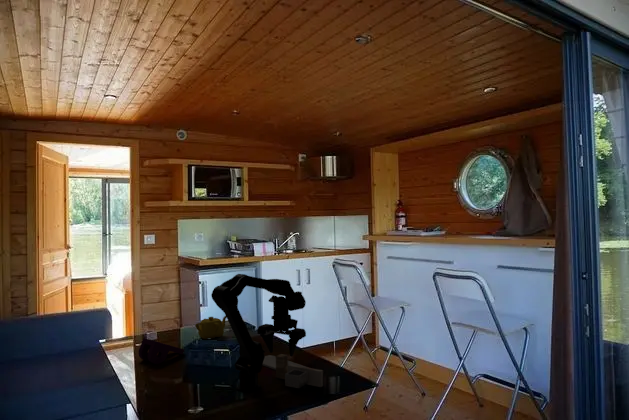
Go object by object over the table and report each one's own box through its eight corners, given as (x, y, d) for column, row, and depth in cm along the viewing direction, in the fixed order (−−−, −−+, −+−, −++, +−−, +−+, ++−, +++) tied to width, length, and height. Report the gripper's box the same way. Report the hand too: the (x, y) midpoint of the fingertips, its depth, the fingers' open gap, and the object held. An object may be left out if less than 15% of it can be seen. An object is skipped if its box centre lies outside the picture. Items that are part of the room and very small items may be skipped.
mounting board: (320, 387, 159) (320, 371, 159) (287, 380, 166) (287, 365, 166) (323, 385, 160) (322, 370, 160) (290, 379, 167) (289, 364, 167)
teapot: (204, 333, 235) (204, 313, 235) (228, 333, 233) (228, 313, 234) (194, 340, 222) (193, 319, 222) (219, 341, 220) (218, 320, 220)
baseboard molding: (275, 356, 196) (252, 363, 188) (275, 350, 196) (252, 356, 188) (326, 374, 174) (303, 382, 166) (326, 366, 174) (303, 374, 166)
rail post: (283, 379, 168) (282, 357, 168) (276, 377, 169) (275, 356, 169) (287, 376, 170) (287, 355, 171) (280, 374, 172) (280, 353, 172)
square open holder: (299, 388, 154) (298, 376, 154) (285, 385, 157) (284, 373, 157) (310, 381, 161) (310, 369, 161) (297, 378, 164) (297, 367, 164)
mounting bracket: (169, 366, 202) (135, 357, 190) (176, 347, 205) (143, 337, 193) (182, 370, 196) (147, 362, 184) (189, 351, 199) (155, 341, 187)
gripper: (313, 311, 172) (313, 352, 172) (273, 306, 182) (273, 345, 182) (297, 317, 163) (297, 360, 163) (256, 312, 172) (256, 353, 172)
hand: (281, 354), depth 170 cm, fingers open, 9 cm apart
